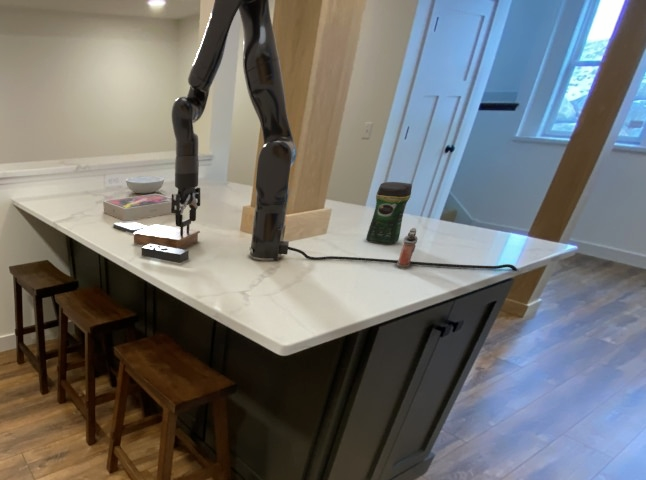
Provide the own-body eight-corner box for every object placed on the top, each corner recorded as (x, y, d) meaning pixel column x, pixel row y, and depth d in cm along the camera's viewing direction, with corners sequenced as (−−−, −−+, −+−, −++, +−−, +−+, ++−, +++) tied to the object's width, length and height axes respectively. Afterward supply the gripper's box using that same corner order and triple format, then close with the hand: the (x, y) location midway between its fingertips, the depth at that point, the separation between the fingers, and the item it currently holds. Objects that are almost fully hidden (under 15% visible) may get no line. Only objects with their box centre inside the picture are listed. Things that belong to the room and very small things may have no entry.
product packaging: (180, 212, 201) (180, 200, 198) (125, 221, 191) (124, 208, 188) (155, 204, 217) (155, 193, 215) (103, 212, 207) (103, 201, 204)
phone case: (112, 227, 183) (131, 234, 171) (112, 223, 182) (131, 230, 170) (130, 224, 187) (151, 231, 175) (130, 220, 186) (150, 226, 174)
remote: (188, 260, 142) (188, 249, 140) (179, 264, 139) (180, 253, 137) (150, 253, 150) (150, 242, 148) (141, 257, 147) (141, 246, 145)
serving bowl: (123, 196, 239) (122, 182, 235) (129, 189, 256) (129, 176, 253) (161, 195, 236) (161, 181, 232) (165, 188, 253) (165, 175, 249)
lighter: (408, 269, 127) (419, 233, 122) (395, 267, 129) (405, 232, 123) (410, 261, 133) (421, 227, 127) (398, 260, 134) (408, 225, 129)
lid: (199, 232, 156) (200, 217, 153) (178, 242, 147) (179, 225, 144) (155, 226, 166) (155, 211, 163) (133, 234, 157) (133, 219, 154)
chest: (197, 242, 158) (198, 232, 156) (176, 252, 149) (176, 241, 147) (156, 236, 168) (155, 226, 166) (134, 245, 159) (133, 234, 157)
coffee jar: (400, 241, 150) (417, 181, 140) (391, 246, 146) (408, 185, 136) (371, 236, 156) (385, 179, 146) (361, 241, 152) (376, 182, 142)
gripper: (184, 174, 135) (184, 229, 144) (208, 168, 144) (206, 220, 153) (164, 173, 139) (164, 227, 148) (188, 167, 148) (187, 218, 157)
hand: (185, 223), depth 150 cm, fingers open, 8 cm apart
